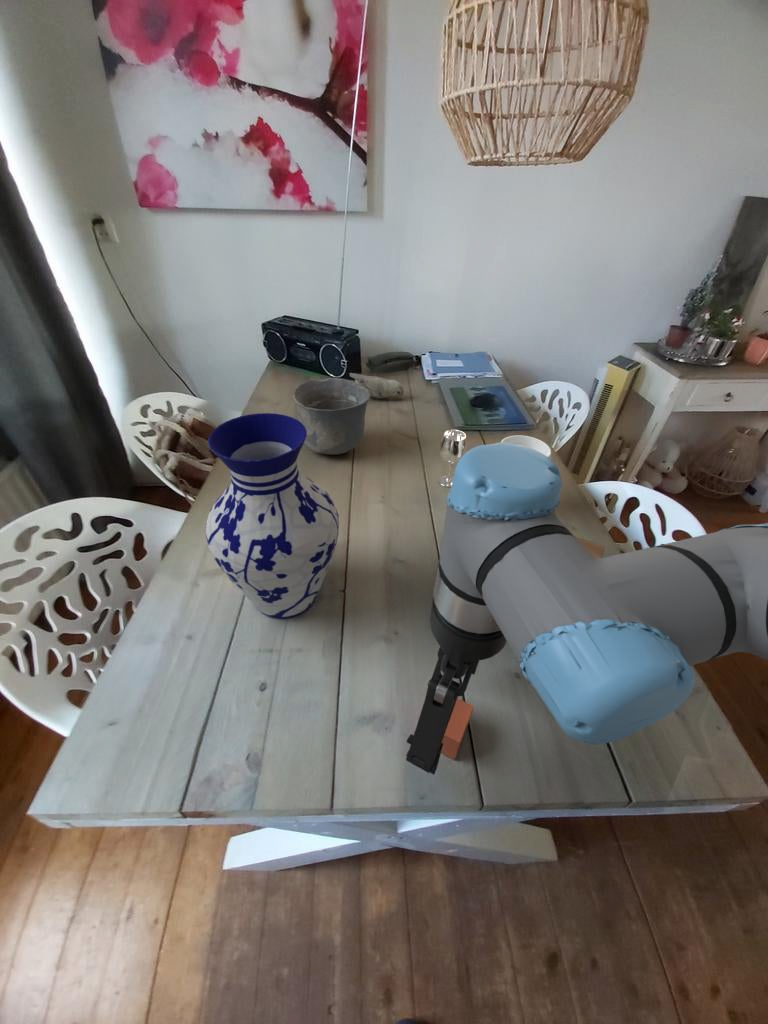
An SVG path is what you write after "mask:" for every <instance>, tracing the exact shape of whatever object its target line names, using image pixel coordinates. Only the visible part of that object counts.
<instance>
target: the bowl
mask: <svg viewBox="0 0 768 1024" xmlns="http://www.w3.org/2000/svg"><path fill="white" fill-rule="evenodd" d="M292 397H293V400H294V404H295V411H296V412H295V413H296V420H298V421H299V422H301V423H302V424H303V425H304V426H305V428H306V431H307V436H306V439H305V441H304V444H303V446H305V447H306V448H307V449H308V450H309V451H312V452H315V453H316V454H322V455H332V456H334V455H342V454H346V453H348V452H349V451H351V450H353V449H355V448H356V447H357V446H358V445H359V443H360V442H361V440H362V438H363V437H364V432H365V425H366V412H367V406H368V403H369V400H370V399H371V396H370V393H369V391H368V390H367V389H365V387H362V386H361V387H359V383H356V382H355V380H351V379H350V380H349V379H345V378H338V377H328V378H326V379H311V380H307V381H304V382H302V383H300V384H299V385H297V386H296V388H295V389H294V391H293V394H292Z"/></svg>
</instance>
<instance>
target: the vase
mask: <svg viewBox="0 0 768 1024" xmlns="http://www.w3.org/2000/svg"><path fill="white" fill-rule="evenodd" d="M306 436H307V431H306V428H305V426H304V425H303V424H302V423H301V422H299V421H298V419H297V418H294V417H292V416H289V415H285V414H282V413H281V414H279V413H272V412H271V413H270V412H262V413H259V412H258V413H252V414H245V415H241V416H237V417H233V418H232V419H229V420H226V421H225V422H223V423H221V424H219V425H217V427H216V428H214V429H213V430H212V431H211V433H210V434H209V436H208V439H207V445H208V447H209V449H210V450H211V452H212V453H213V454H214V455H215V456H216V457H217V458H218V459H219V460H220V461H221V462H222V463H223V464H224V465H225V466H226V467H227V469H228V470H229V473H230V483H229V485H228V487H226V489H225V490H224V492H222V494H220V496H219V497H218V498H217V499H216V500H215V502H214V503H213V505H212V507H211V509H209V512H208V515H207V520H206V523H205V541H206V543H207V546H208V549H209V551H210V553H211V556H212V558H213V560H214V561H215V563H216V564H217V566H219V568H220V569H221V571H222V572H223V573H224V574H225V576H227V577H228V578H229V581H230V582H231V583H232V584H234V586H235V587H236V588H237V589H238V590H239V591H240V593H242V594H243V596H245V598H247V599H248V601H250V603H251V604H252V605H253V606H254V607H255V608H256V610H258V611H259V612H260V613H261V614H263V615H264V616H267V617H269V618H273V619H290V618H294V617H297V616H299V615H302V614H304V613H305V612H307V611H308V610H309V609H311V607H312V606H313V605H314V604H315V603H316V601H317V599H318V598H319V595H320V594H319V593H320V592H321V588H322V586H323V583H324V581H325V578H326V576H327V574H328V571H329V567H330V565H331V563H332V559H333V557H334V553H335V550H336V546H337V544H338V538H339V535H340V533H339V532H340V517H339V512H338V509H337V507H336V505H335V504H336V503H335V502H334V500H333V499H332V497H331V495H329V493H328V492H327V491H326V490H325V489H324V488H323V487H322V486H320V484H318V483H316V482H314V481H313V480H312V479H310V478H309V477H307V476H305V475H304V474H302V473H301V471H300V470H299V468H298V457H299V454H300V452H301V450H302V448H303V446H304V441H305V439H306Z"/></svg>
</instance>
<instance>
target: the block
mask: <svg viewBox="0 0 768 1024" xmlns="http://www.w3.org/2000/svg"><path fill="white" fill-rule="evenodd" d="M474 707H475V706H474V705H472V704H470V703H468V702H467V701H464V700H462V699H461V698H459V697H458V698H457V701H456V704H455V707H454V709H453V712H452V715H451V718H450V721H449V723H448V726H447V729H446V732H445V735H444V737H443V740H442V743H443V747H442V751H441V754H440V755H443V756H445V757H447V758H449V759H450V760H453V761H455V760H456V758H457V755H458V753H459V750H460V747H461V745H462V742H463V740H464V737H465V734H466V731H467V729H468V727H469V723H470V720H471V717H472V714H473V710H474Z"/></svg>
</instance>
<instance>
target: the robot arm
mask: <svg viewBox="0 0 768 1024" xmlns="http://www.w3.org/2000/svg"><path fill="white" fill-rule="evenodd" d="M452 477H453V481H452V486H451V487H450V491H448V494H447V496H446V509H445V515H444V516H445V517H444V524H443V532H442V539H441V546H440V555H439V560H438V563H437V564H438V565H437V570H436V577H435V581H434V588H433V593H432V594H433V597H432V604H431V610H430V615H429V626H430V631H431V634H432V636H433V638H434V639H435V641H436V643H437V644H438V645H439V648H438V651H437V658H438V659H437V662H436V664H435V667H434V670H433V673H432V676H431V678H430V680H428V682H427V689H426V694H425V698H424V701H423V704H422V708H421V711H420V713H419V717H418V719H417V720H418V721H417V724H416V727H415V730H414V733H413V734H411V733H410V735H409V736H408V737H407V739H406V743H407V744H409V749H408V751H407V752H406V756H405V757H406V758H405V761H406V762H408V763H410V764H412V765H413V766H415V767H417V768H419V769H421V770H422V771H424V772H426V773H427V774H431V775H433V776H434V775H435V774H436V772H437V768H438V765H439V761H440V758H441V755H442V754H441V751H442V747H443V743H442V740H443V737H444V735H445V732H446V729H447V726H448V723H449V721H450V718H451V715H452V712H453V709H454V707H455V704H456V701H457V698H458V699H459V697H463V696H464V695H465V693H466V691H467V688H468V686H469V683H470V680H471V677H472V675H475V674H476V671H477V668H478V666H479V663H480V661H484V660H488V659H491V658H493V657H494V656H496V655H497V654H499V653H500V652H501V651H502V650H503V649H504V647H505V646H506V644H508V646H509V647H510V648H511V651H512V653H513V654H514V656H515V658H516V660H517V661H518V663H519V667H520V669H521V673H522V675H523V676H524V678H525V680H526V681H527V682H528V684H531V686H532V687H533V688H534V690H535V691H536V692H537V694H538V696H539V697H540V698H541V700H542V702H543V703H544V705H545V706H546V708H547V709H548V711H549V712H550V714H551V716H553V718H554V720H555V721H556V723H557V724H558V726H559V727H560V729H561V730H562V731H563V732H564V733H565V735H567V736H568V737H570V738H571V739H573V740H574V741H577V742H580V743H581V744H582V743H583V744H587V745H605V744H609V743H613V742H617V741H620V740H623V739H625V738H628V737H630V736H632V735H634V734H636V733H638V732H639V731H640V730H642V729H645V728H650V727H651V726H653V725H655V724H657V723H658V722H660V721H662V720H663V719H665V718H666V717H667V716H669V715H670V714H672V713H673V712H674V711H676V710H677V709H678V708H680V707H681V705H682V704H683V703H685V701H687V700H688V699H689V698H690V695H691V694H692V693H693V691H694V688H695V684H696V677H695V672H694V671H693V669H692V667H691V666H694V665H695V666H696V665H697V664H703V663H705V662H707V661H711V660H713V659H716V658H721V657H724V656H728V655H731V654H734V653H747V654H750V655H753V656H757V657H760V658H761V659H764V660H767V661H768V522H766V523H760V524H738V525H735V526H731V527H728V528H723V529H720V530H718V531H715V532H709V533H706V534H702V535H698V536H694V537H689V538H685V539H681V540H677V541H672V542H668V543H663V544H659V545H654V546H648V547H645V548H642V549H637V550H632V551H628V552H627V551H626V552H623V553H618V554H614V555H608V556H605V557H604V556H603V557H602V558H595V557H594V556H592V555H591V554H590V553H589V552H588V551H587V550H586V549H585V548H584V546H583V545H582V544H581V543H580V542H579V541H578V540H577V539H576V538H575V537H576V536H574V534H573V533H572V532H571V531H570V530H569V529H568V528H567V526H566V525H565V524H564V523H563V522H562V521H561V520H560V519H559V518H558V516H557V515H556V511H555V510H556V509H557V508H558V507H559V505H560V503H561V501H560V496H561V491H562V487H563V482H562V481H563V480H562V477H561V473H560V469H559V467H558V466H557V465H556V464H555V462H554V461H553V460H552V459H551V460H550V459H549V458H548V457H547V456H545V455H544V454H542V453H540V452H538V451H536V450H534V449H531V448H528V447H525V446H522V445H517V444H511V443H501V442H495V443H491V444H490V443H489V444H481V445H478V446H475V447H472V448H471V449H469V450H466V453H465V454H464V455H463V456H462V457H461V458H460V459H459V461H458V462H456V465H455V468H454V473H453V476H452ZM462 678H463V680H462V682H461V683H460V682H457V681H455V680H459V679H462ZM454 679H455V680H454Z"/></svg>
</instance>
